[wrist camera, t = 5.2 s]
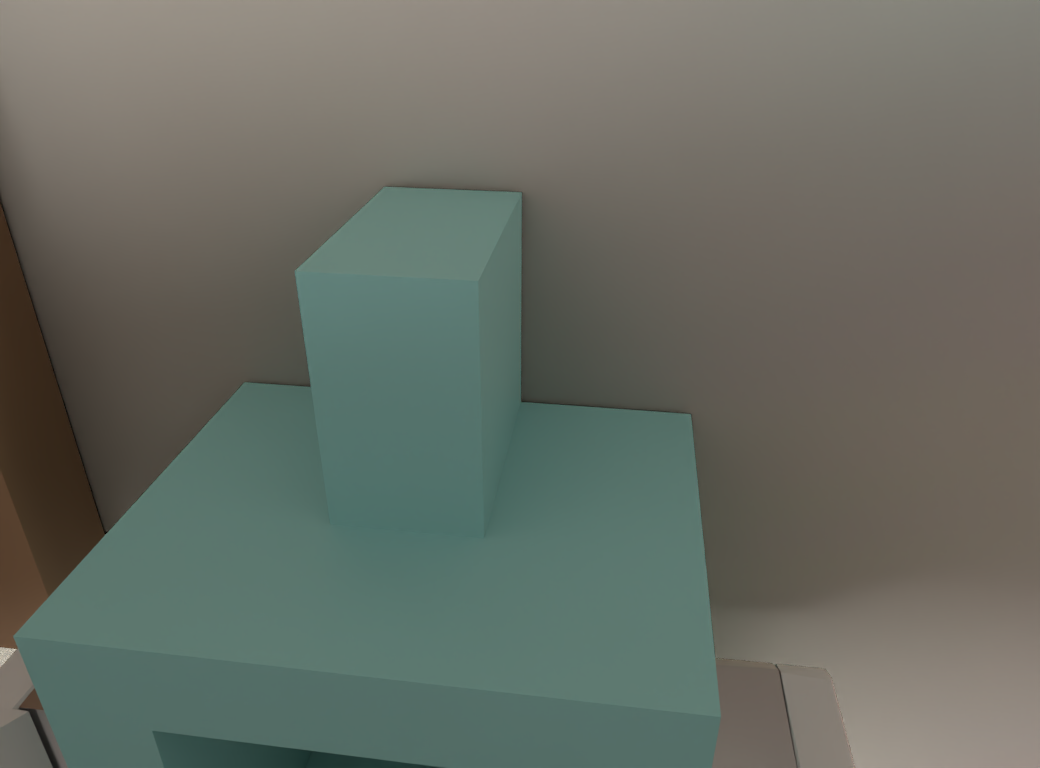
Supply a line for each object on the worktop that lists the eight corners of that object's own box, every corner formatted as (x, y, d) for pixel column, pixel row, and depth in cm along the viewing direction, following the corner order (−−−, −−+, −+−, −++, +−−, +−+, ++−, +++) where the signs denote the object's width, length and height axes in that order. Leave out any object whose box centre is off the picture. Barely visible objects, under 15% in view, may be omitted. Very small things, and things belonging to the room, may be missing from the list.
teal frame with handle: (651, 727, 11) (655, 1073, 8) (301, 686, 12) (160, 990, 9) (717, 200, 8) (778, 410, 4) (207, 179, 8) (-108, 349, 5)
